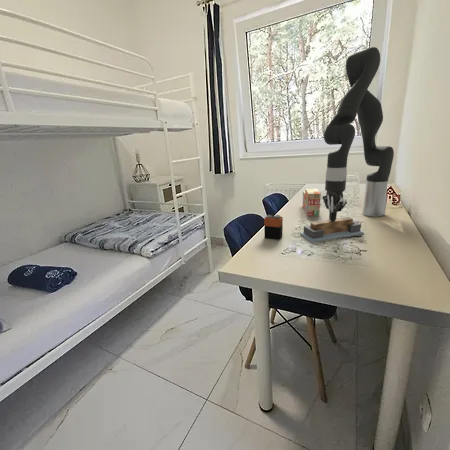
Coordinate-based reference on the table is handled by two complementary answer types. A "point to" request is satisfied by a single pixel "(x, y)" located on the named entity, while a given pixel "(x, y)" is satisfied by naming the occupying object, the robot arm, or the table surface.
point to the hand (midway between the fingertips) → (332, 220)
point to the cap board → (318, 234)
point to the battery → (273, 227)
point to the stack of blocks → (311, 202)
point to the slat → (333, 225)
